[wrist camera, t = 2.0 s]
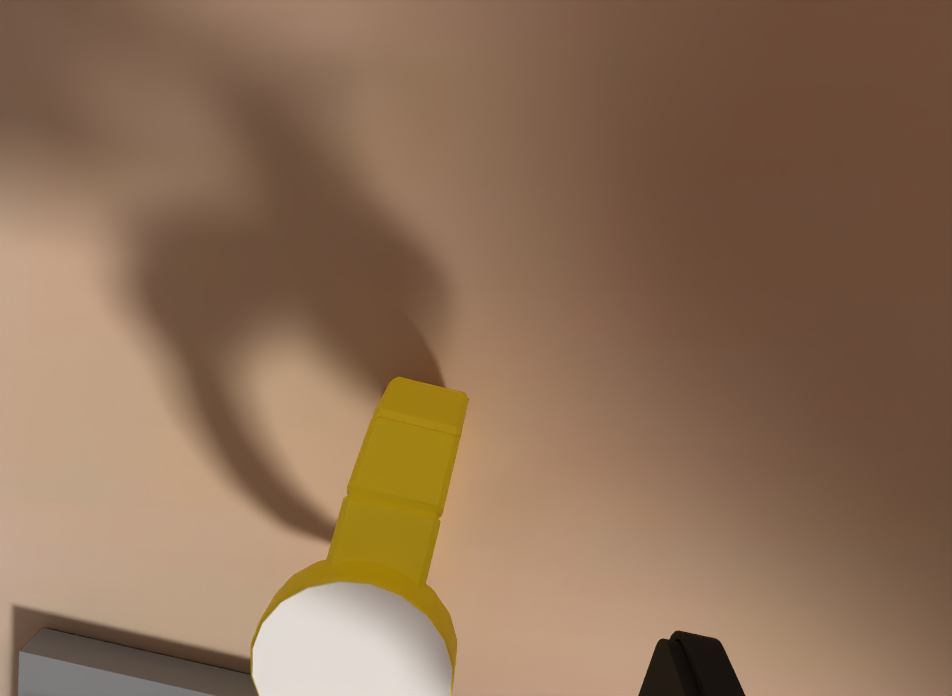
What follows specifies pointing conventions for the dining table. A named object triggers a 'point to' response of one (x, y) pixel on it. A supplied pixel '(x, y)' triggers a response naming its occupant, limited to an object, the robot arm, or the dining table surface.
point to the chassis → (117, 671)
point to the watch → (374, 568)
